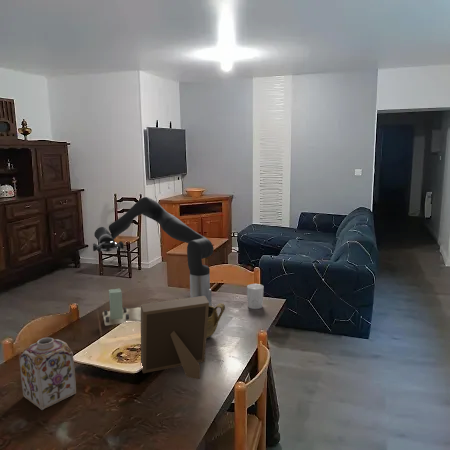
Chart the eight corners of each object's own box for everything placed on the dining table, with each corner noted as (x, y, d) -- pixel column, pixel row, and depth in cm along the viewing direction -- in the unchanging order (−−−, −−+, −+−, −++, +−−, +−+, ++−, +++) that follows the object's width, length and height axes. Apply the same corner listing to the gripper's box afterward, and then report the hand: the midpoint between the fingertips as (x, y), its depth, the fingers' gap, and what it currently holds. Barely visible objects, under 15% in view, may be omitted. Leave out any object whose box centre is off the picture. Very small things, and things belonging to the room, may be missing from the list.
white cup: (245, 308, 202) (245, 288, 200) (249, 302, 209) (249, 283, 207) (261, 310, 199) (261, 289, 198) (265, 304, 207) (265, 284, 205)
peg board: (155, 308, 203) (154, 301, 203) (161, 320, 188) (161, 313, 188) (102, 315, 195) (102, 308, 195) (105, 328, 181) (104, 321, 180)
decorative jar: (57, 381, 140) (53, 329, 137) (77, 393, 133) (73, 339, 130) (21, 397, 131) (15, 342, 128) (40, 411, 124) (35, 353, 121)
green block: (121, 314, 193) (120, 288, 191) (123, 318, 188) (121, 291, 186) (110, 315, 191) (108, 289, 189) (111, 319, 186) (109, 293, 184)
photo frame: (140, 367, 148) (137, 298, 144) (200, 356, 156) (199, 290, 151) (149, 389, 135) (146, 314, 130) (214, 376, 142) (214, 305, 138)
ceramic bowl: (231, 333, 175) (231, 298, 172) (215, 351, 160) (214, 313, 157) (182, 325, 183) (181, 291, 181) (162, 342, 168) (161, 305, 165)
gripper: (91, 236, 214) (93, 242, 199) (120, 234, 218) (124, 240, 203) (92, 251, 215) (94, 258, 200) (121, 248, 220) (125, 255, 205)
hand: (109, 249), depth 202 cm, fingers open, 8 cm apart
